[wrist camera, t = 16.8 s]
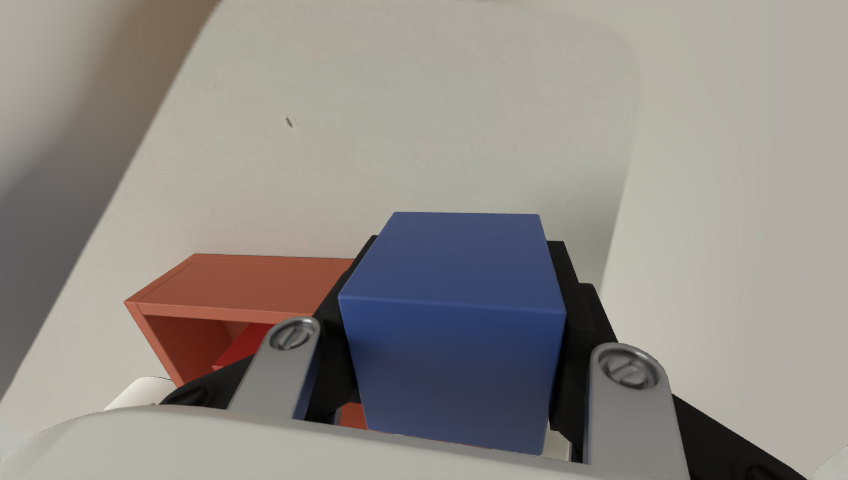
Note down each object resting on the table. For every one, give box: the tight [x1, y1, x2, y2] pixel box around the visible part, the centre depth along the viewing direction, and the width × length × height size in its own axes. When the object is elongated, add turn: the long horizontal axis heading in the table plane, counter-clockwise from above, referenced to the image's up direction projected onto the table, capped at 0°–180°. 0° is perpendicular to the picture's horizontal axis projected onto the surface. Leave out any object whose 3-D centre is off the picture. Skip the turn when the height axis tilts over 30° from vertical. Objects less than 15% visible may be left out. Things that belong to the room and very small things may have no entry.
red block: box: [212, 322, 276, 371], centre depth 20 cm, size 4×4×4 cm
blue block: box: [338, 212, 567, 456], centre depth 9 cm, size 4×4×4 cm
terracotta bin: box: [124, 254, 393, 434], centre depth 21 cm, size 13×12×5 cm
